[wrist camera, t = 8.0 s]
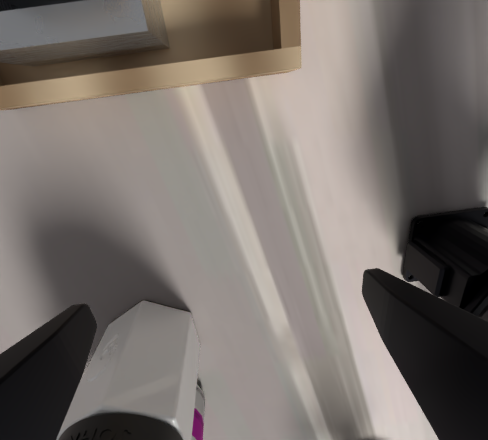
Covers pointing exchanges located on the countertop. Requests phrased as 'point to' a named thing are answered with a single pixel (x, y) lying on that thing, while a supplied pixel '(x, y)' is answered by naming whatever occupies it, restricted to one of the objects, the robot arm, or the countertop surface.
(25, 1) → the block
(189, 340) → the jar
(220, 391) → the countertop surface
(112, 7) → the socket
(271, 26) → the oak box
